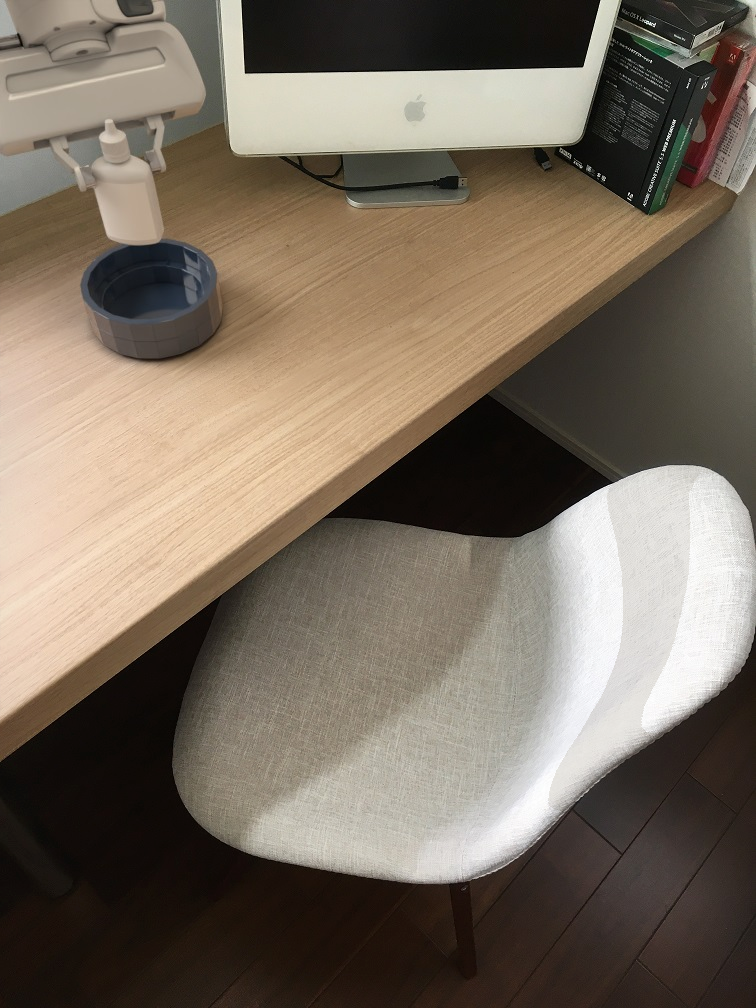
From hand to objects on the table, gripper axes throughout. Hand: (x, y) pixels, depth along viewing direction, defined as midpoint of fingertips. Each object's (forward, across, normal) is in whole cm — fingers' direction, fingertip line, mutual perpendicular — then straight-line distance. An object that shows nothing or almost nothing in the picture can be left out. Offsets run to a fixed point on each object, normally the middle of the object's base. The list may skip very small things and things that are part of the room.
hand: (124, 180), depth 74 cm
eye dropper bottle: (+4, 0, +5) cm, 7 cm away
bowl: (+12, 0, +14) cm, 18 cm away
